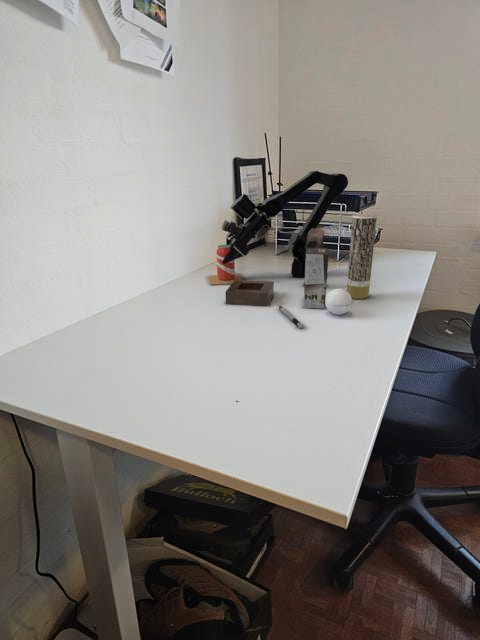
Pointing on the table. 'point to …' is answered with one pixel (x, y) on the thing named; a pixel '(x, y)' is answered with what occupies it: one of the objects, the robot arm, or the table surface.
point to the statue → (315, 239)
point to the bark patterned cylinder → (361, 255)
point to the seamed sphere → (338, 301)
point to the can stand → (250, 292)
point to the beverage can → (226, 269)
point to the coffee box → (315, 277)
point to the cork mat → (216, 281)
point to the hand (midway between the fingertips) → (221, 260)
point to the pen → (291, 317)
